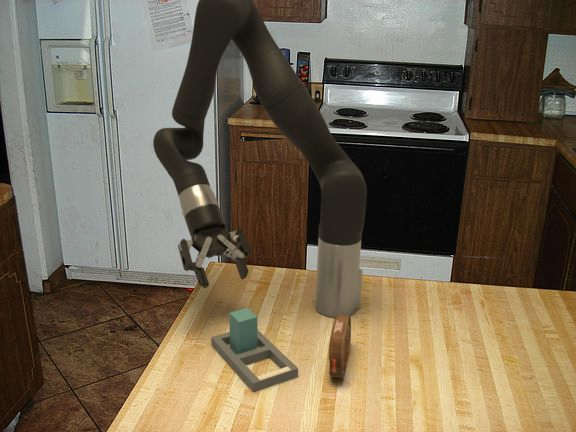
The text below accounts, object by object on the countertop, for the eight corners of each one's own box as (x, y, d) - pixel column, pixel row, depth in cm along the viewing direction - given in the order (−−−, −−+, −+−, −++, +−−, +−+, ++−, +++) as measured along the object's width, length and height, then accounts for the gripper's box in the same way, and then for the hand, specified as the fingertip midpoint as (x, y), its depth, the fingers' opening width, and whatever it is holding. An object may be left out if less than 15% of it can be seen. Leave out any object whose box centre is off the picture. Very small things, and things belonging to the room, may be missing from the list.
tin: (342, 387, 115) (345, 348, 112) (325, 385, 116) (327, 345, 113) (351, 343, 129) (354, 307, 126) (335, 341, 130) (338, 305, 127)
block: (247, 342, 128) (247, 307, 126) (257, 352, 125) (257, 316, 122) (229, 348, 127) (229, 312, 124) (239, 357, 123) (239, 322, 120)
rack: (252, 332, 132) (253, 324, 131) (297, 376, 118) (298, 367, 117) (211, 344, 127) (211, 336, 127) (253, 391, 113) (253, 383, 113)
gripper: (173, 208, 126) (198, 283, 121) (237, 197, 133) (263, 268, 128) (164, 224, 132) (188, 296, 127) (226, 213, 139) (250, 281, 134)
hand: (225, 282), depth 128 cm, fingers open, 8 cm apart
